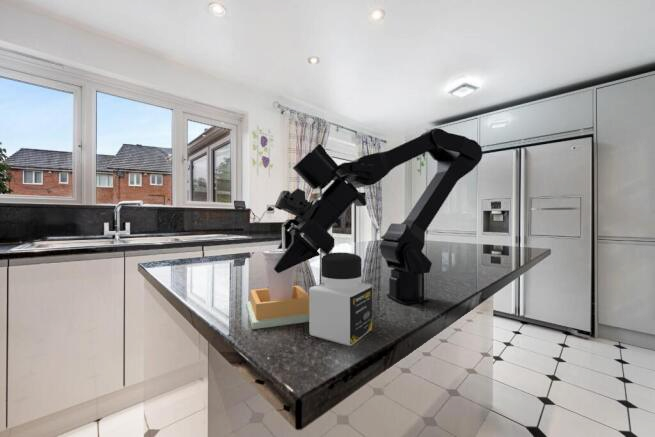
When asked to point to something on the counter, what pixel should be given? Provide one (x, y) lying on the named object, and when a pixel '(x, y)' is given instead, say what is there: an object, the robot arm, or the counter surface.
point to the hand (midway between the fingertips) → (273, 267)
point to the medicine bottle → (340, 301)
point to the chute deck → (277, 308)
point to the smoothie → (278, 274)
